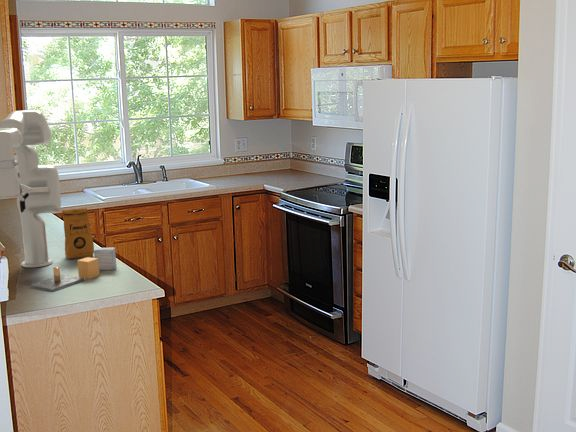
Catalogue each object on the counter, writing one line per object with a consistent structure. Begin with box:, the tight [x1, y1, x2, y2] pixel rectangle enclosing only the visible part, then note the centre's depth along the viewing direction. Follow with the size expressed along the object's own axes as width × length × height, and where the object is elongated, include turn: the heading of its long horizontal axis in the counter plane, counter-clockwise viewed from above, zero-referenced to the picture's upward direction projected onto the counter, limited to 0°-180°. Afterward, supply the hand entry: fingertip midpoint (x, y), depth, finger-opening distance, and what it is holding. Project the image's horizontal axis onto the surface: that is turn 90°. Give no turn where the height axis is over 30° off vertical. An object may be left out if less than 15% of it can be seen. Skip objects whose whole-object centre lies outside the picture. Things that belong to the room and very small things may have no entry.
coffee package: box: [61, 207, 95, 259], centre depth 310 cm, size 10×12×22 cm
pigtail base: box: [29, 266, 85, 292], centre depth 271 cm, size 12×16×6 cm
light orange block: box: [77, 257, 100, 280], centre depth 280 cm, size 6×6×7 cm
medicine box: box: [93, 246, 117, 271], centre depth 291 cm, size 8×4×9 cm, turn 92°
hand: (8, 212), depth 252 cm, fingers open, 9 cm apart
